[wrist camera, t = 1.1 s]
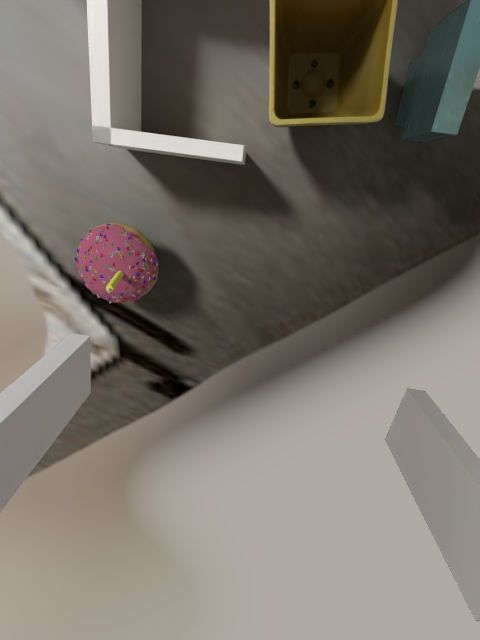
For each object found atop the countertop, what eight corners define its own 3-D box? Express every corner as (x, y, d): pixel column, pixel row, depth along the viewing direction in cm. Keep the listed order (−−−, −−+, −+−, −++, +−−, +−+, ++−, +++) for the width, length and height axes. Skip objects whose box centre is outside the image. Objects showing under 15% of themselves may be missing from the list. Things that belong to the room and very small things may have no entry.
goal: (125, -47, 29) (81, -123, 22) (266, -27, 29) (271, -97, 22) (126, 149, 35) (93, 141, 28) (244, 165, 35) (242, 161, 28)
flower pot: (265, 138, 34) (268, 125, 26) (265, 31, 31) (269, -23, 23) (352, 135, 34) (383, 121, 26) (362, 26, 31) (402, -30, 22)
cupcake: (174, 230, 38) (141, 251, 27) (161, 298, 42) (127, 341, 31) (99, 209, 38) (35, 222, 27) (92, 280, 41) (33, 317, 30)
